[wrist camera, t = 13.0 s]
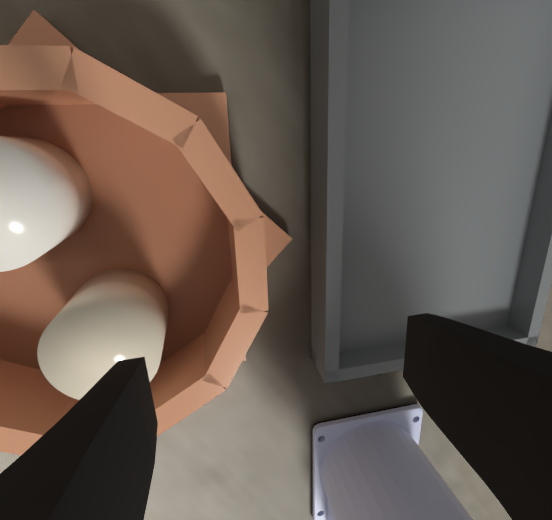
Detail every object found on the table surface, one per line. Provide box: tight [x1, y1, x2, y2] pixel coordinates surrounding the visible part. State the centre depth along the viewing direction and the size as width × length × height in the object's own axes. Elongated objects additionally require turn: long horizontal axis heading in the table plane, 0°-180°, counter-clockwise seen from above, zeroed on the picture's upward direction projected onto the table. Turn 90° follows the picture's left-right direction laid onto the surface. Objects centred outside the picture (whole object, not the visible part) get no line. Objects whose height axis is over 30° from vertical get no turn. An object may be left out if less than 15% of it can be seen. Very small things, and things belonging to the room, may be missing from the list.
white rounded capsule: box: [0, 136, 93, 272], centre depth 13 cm, size 4×4×4 cm
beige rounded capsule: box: [37, 268, 169, 400], centre depth 15 cm, size 4×4×4 cm
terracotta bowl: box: [0, 10, 292, 455], centre depth 14 cm, size 20×20×4 cm
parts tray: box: [310, 0, 552, 384], centre depth 18 cm, size 20×14×2 cm
